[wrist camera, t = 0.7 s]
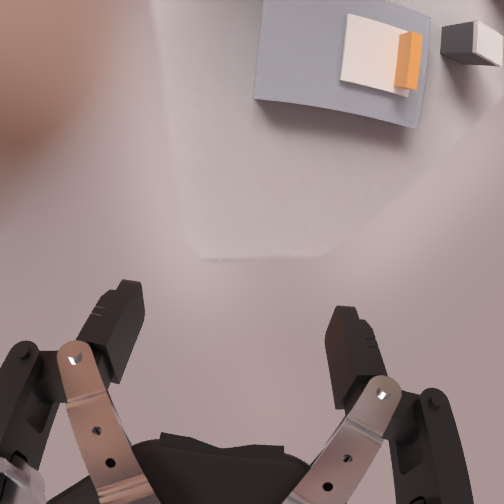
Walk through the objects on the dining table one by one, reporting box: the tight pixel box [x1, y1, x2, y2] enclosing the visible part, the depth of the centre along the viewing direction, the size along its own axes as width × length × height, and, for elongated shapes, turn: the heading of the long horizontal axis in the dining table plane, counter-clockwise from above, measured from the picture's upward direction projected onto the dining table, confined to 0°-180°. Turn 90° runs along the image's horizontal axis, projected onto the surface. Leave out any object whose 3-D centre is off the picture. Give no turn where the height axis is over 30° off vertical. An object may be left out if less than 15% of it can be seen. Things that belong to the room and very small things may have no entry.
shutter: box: [339, 13, 423, 97], centre depth 23 cm, size 8×8×4 cm
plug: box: [440, 20, 503, 67], centre depth 22 cm, size 4×4×8 cm
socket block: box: [253, 0, 431, 130], centre depth 26 cm, size 14×18×4 cm
